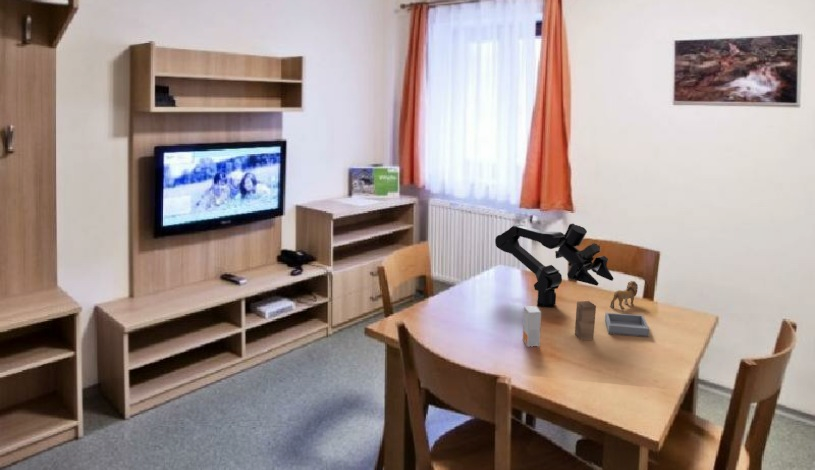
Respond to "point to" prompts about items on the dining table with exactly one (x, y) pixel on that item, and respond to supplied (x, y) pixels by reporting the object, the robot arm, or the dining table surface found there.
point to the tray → (626, 324)
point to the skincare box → (531, 326)
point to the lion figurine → (625, 294)
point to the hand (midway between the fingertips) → (605, 282)
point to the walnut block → (585, 320)
